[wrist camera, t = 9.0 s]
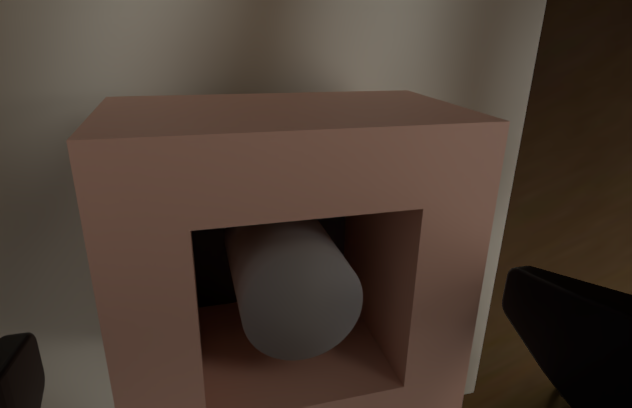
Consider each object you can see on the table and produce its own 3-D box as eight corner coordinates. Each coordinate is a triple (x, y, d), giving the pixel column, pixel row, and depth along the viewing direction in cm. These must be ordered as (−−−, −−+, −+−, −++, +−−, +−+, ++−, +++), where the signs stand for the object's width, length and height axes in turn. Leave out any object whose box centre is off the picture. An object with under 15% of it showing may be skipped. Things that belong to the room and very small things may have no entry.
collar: (407, 90, 12) (510, 121, 8) (387, 324, 14) (458, 426, 11) (105, 96, 10) (66, 140, 6) (144, 362, 12) (132, 502, 9)
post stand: (513, -76, 14) (755, -144, 8) (446, 358, 20) (560, 500, 14) (-137, -136, 10) (-595, -365, 4) (21, 436, 16) (-72, 686, 10)
